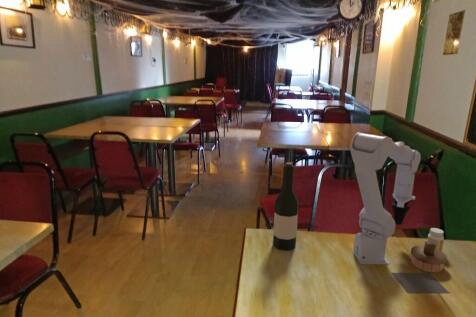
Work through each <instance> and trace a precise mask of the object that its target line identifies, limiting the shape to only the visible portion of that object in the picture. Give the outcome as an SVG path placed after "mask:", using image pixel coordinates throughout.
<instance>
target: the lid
mask: <svg viewBox="0 0 476 317" xmlns="http://www.w3.org/2000/svg"><path fill="white" fill-rule="evenodd" d="M435 246H436V244H435V243H433V242H430V241H427V240H426V241H425V242H424V244H423V245H414V246H413V247H411V249H410V255H411V257H412V256H413V257H414V258H416V259H417V260H419V261H422V262H424V263H428V264H433V265H441V264H444V265H445V264H446V263H447V259H448V257H447V254H445V253H444V252H443V251H442V252H441V251H439V250H437V249H435Z"/></svg>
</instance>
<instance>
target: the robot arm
mask: <svg viewBox="0 0 476 317" xmlns="http://www.w3.org/2000/svg"><path fill="white" fill-rule="evenodd" d="M349 150H350V155H351V158H352V161H353V163H354V171H355V176H356V180H357V185H358V188H359V192H360V195H361V200H362V202H363V208H362V209H361V210H360V212H359V214H358V217H359V221H358V223H359V227H360V228H361V232H358V233H356V234H355V236H354V243H353V250H352V253H353V255H354V256H355V258H356V259H357V261H358V263H359V264H361V265H390V262H389V261H388V259H387V258H386V257H385V256H386V250H387V243H388V239H389V238H390V237H392V236H393V234H394V233H395V230H396V225H399V226H401V225H403V221H404V220H405V216H406V214H407V213H408V211H409V210H410V208H411V207H410V206H408V204H409V203H410V202H411V201H412V200H413V201H415V200H416V196H415V195H413V190H414V182H415V177H416V176H415V175H416V172H417V171H418V167H419V165H420V162H421V159H422V158H421V153H420V152H419V151H418V150H416V149H412V148H411V147H410V145H405V142H404V141H396V142H394V141H393V138H392V137H389V136H387V135H385V136H382V135H376V134H370V133H363V132H361V131H360V132H359V131H358V132H356V133H355V134H354V135H353V137H352V139H351V142H350V145H349ZM388 158H389V159H392V160H393V161H394V163H395V165H397V166H396V173H395V179H394V180H395V181H394V188H393V193H392V198H393V200H394V202H391V204H390V205H391V208H392V210H393V211H392V213H393V216H392V214H391V213H390V212H389V211H388V210H386V208H384V205H383V200H382V195H381V191H380V186H379V182H378V176H377V174H376V171H377V170H381V169H382V168H383V166H384V165H385V163H386V161H387V159H388Z"/></svg>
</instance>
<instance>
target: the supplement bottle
mask: <svg viewBox="0 0 476 317" xmlns="http://www.w3.org/2000/svg"><path fill="white" fill-rule="evenodd" d="M444 233H445V232H444V230H442V229H440V228H437V227H431V228H430V229H429V233H428V235H427V240H426V241H430V242H433V243H435V244H436V246H435V249H437V250H439V251H441V252H443V247H444V240H445V237H444Z"/></svg>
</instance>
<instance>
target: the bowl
mask: <svg viewBox="0 0 476 317" xmlns="http://www.w3.org/2000/svg"><path fill="white" fill-rule="evenodd" d="M410 262H411V264H412V265H413V266H415V268H418V269H420V270H422V271H426V272H428V273H440V272H442V270H444V265H445V263H444V264H441V265H433V264H428V263H424V262H422V261H419V260H417V259H416V258H414V257H413V256H412V255H411V260H410Z"/></svg>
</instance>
